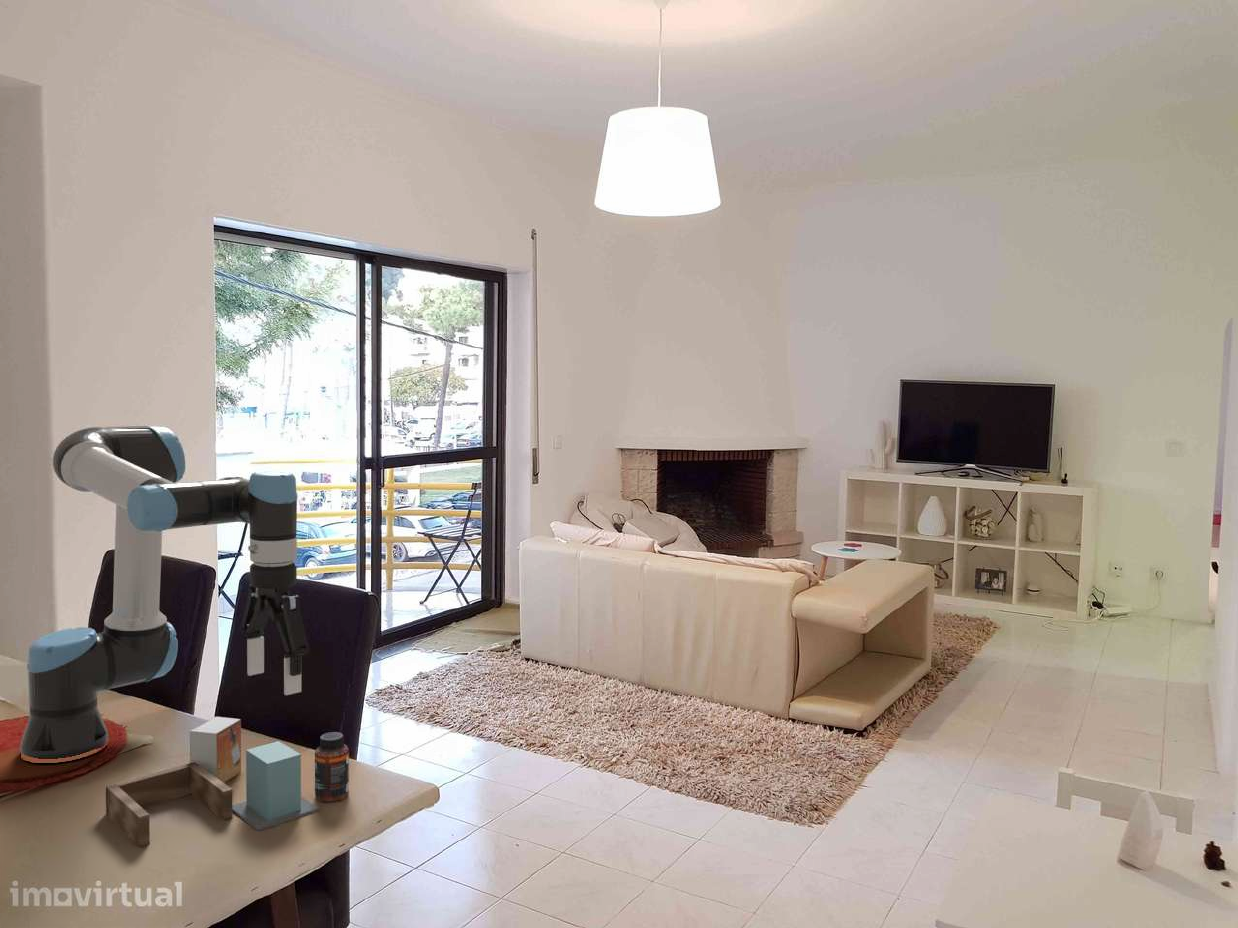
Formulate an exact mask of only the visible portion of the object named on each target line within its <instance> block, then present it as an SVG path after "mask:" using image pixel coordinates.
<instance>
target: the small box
mask: <svg viewBox="0 0 1238 928" xmlns="http://www.w3.org/2000/svg"><path fill="white" fill-rule="evenodd" d="M193 762H196V763H197V764H198V765H200V766H201V767H203V768H204V769H205V770H207V771H208V772H209V773H211V774H212V775H213V776H215V777H216V778H218V779H219V780H220V781H222V782H223V783H224V784H226V782H228V781H229V780H230V779H232V778H234V777H235V776H238V775H239V774H241V772H242V720H241V719H240V718H233V717H225V716H223V717H222V716H214V717H213V718H211V719H210V720H208V721H206V722H204V723H202V724H201V725H199V726H197V727H195V728H194V729H190V731H189V763H193Z"/></svg>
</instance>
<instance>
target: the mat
mask: <svg viewBox="0 0 1238 928" xmlns="http://www.w3.org/2000/svg"><path fill="white" fill-rule="evenodd" d="M319 810H320V808H319V806H316V804H313V802H310V801H309V800H307V799H306V798H305V797H303V796H301V810H298V811H295V812H292V813H289V814H286V815H283V816H280V817H277V818H274V819H271V820H266V819H265V818H263V817H262V816H261V815H259V814H258V813H257V812H255V811H254V810H253V809H251V808H250V807H249V806H247V805H246V800H245V801H242V802H239V803H236V804H232V813H234V814H236V815H237V817H239V818H241V819H243V820H244V821H245V823H247V824H248V825H250V826H251V827H252V828H254V829H255V830H256V831H262V830H265V829H267V828H271V827H275V826H276V825H280V824H282V823H286V822H289V821H291V820H295V819H298V818H300V817H304V816H306V815H308V814H312V813H315V812H317V811H319ZM314 811H315V812H314Z"/></svg>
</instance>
